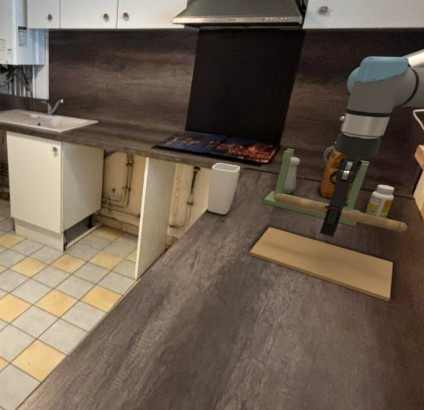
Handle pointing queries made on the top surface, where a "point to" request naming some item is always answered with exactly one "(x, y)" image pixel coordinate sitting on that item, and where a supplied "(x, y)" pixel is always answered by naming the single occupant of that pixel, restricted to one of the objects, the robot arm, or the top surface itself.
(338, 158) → the coffee package
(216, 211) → the cup
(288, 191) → the salt shaker
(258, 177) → the top surface
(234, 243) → the top surface
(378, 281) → the mat
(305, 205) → the rod
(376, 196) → the supplement bottle
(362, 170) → the rack
